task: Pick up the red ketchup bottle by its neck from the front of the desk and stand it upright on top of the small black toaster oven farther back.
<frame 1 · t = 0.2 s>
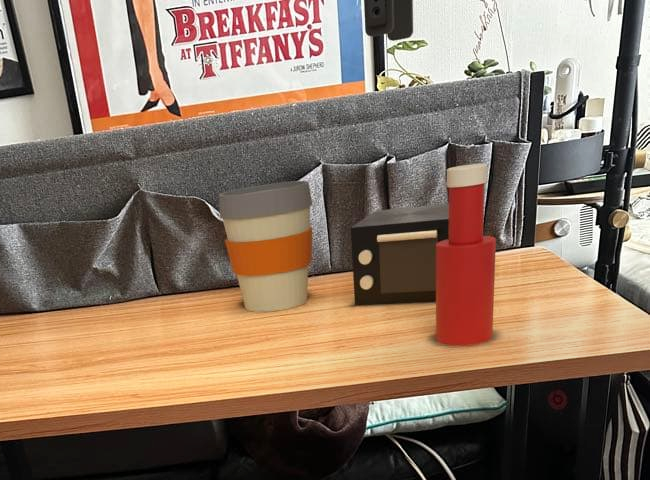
hand: (390, 37, 62), 27 cm above the table, tool pointing down, fingers open, 8 cm apart
ketchup bottle: (463, 343, 75), on the table
reusable coffee cup: (276, 305, 103), on the table
toaster oven: (411, 294, 97), on the table
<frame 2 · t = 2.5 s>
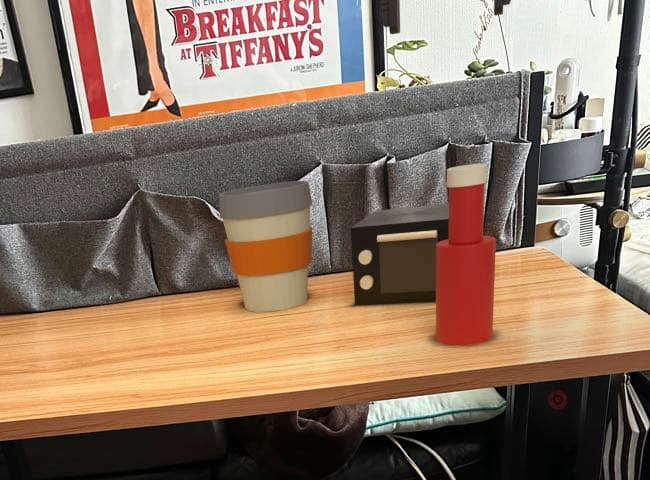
hand: (445, 24, 61), 28 cm above the table, tool pointing down, fingers open, 8 cm apart
nothing on the table moved.
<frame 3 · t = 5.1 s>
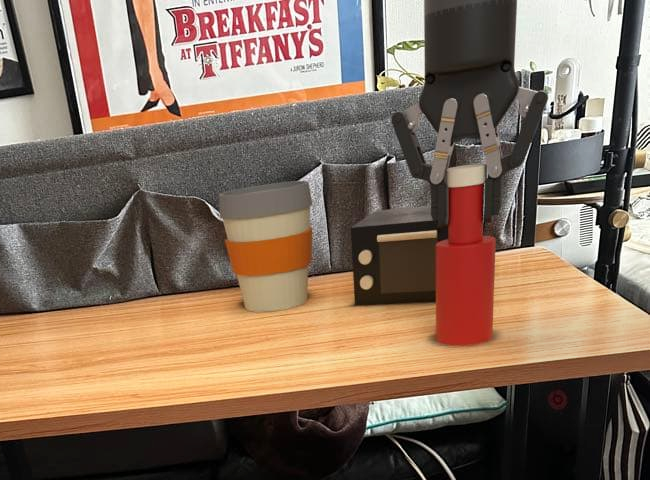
hand: (465, 222, 69), 12 cm above the table, tool pointing down, fingers closed on ketchup bottle, 3 cm apart
ketchup bottle: (463, 343, 75), on the table, touching gripper
everything else where it was.
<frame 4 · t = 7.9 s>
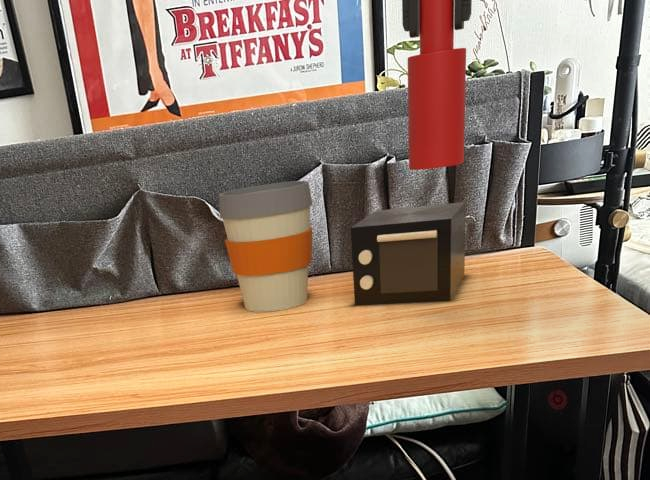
hand: (436, 31, 70), 28 cm above the table, tool pointing down, fingers closed on ketchup bottle, 3 cm apart
ketchup bottle: (436, 165, 76), point 16 cm above the table, touching gripper
everything else where it was.
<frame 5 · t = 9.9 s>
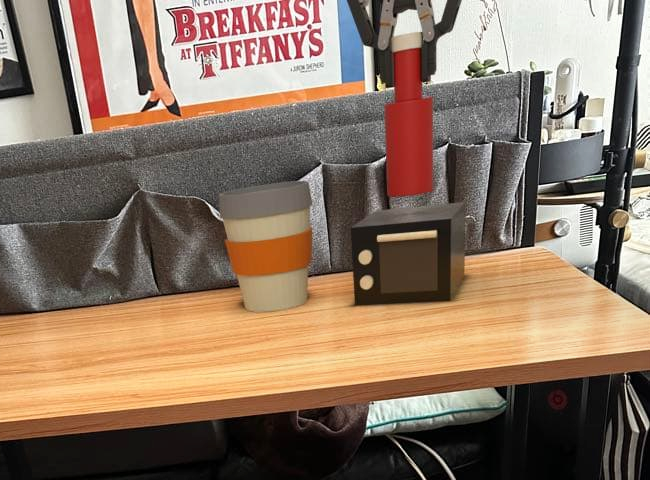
hand: (408, 83, 85), 24 cm above the table, tool pointing down, fingers closed on ketchup bottle, 3 cm apart
ketchup bottle: (410, 193, 90), point 12 cm above the table, touching gripper
everything else where it was.
when the fingers open (22 cm above the table, at t = 11.0 s): ketchup bottle stays where it is, resting on toaster oven.
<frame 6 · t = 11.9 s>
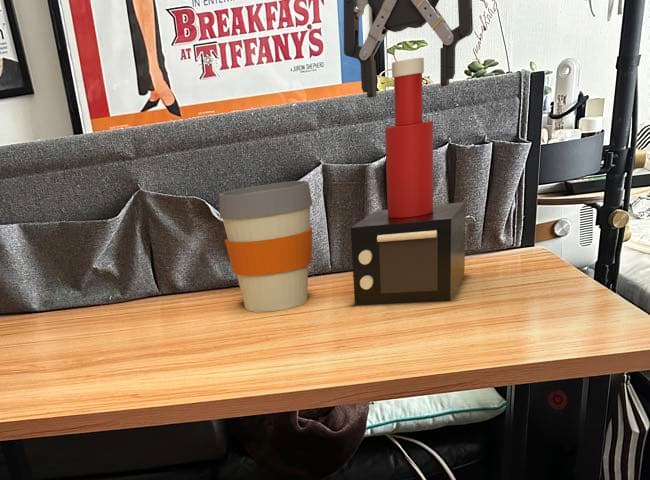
hand: (407, 91, 85), 23 cm above the table, tool pointing down, fingers open, 8 cm apart
ketchup bottle: (410, 214, 92), point 10 cm above the table, touching toaster oven
everything else where it was.
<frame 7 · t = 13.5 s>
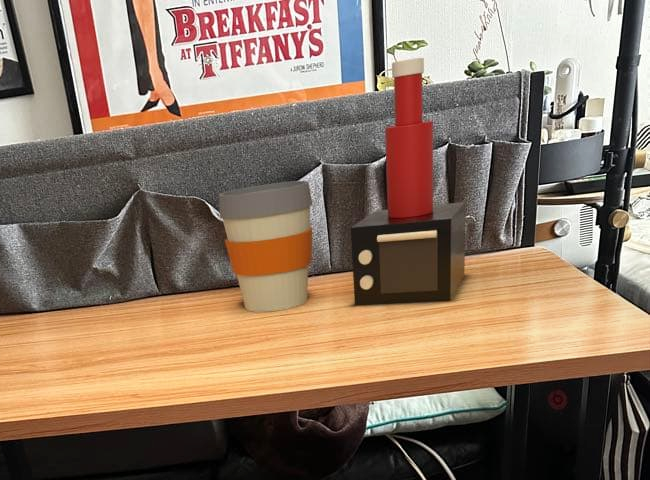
nothing on the table moved.
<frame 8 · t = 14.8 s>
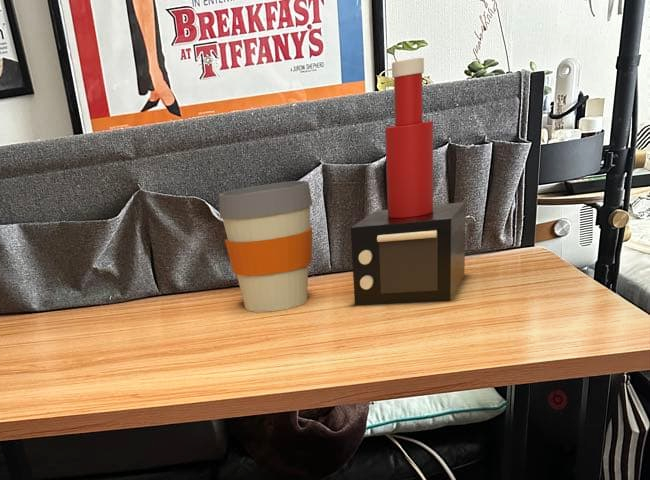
nothing on the table moved.
at the end: ketchup bottle inside the target area on the toaster oven (0.1 cm from its centre), point 10.0 cm above the toaster oven's base; ketchup bottle tilted 0°; the gripper is holding nothing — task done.
